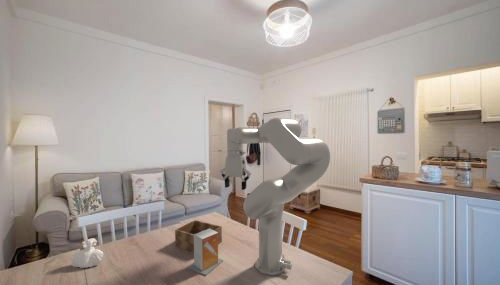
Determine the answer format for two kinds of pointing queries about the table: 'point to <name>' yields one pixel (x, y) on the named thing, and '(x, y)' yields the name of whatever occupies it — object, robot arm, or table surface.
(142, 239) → the table surface
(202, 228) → the wooden cubby frame
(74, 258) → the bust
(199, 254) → the small box
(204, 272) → the pad
